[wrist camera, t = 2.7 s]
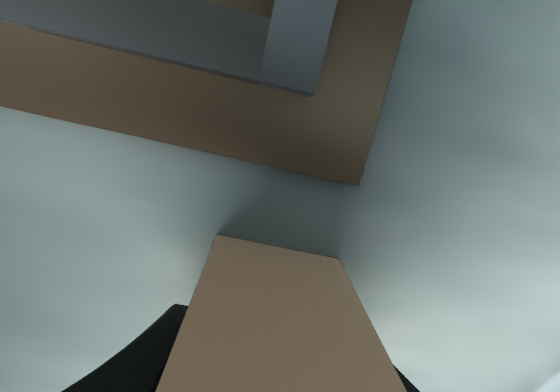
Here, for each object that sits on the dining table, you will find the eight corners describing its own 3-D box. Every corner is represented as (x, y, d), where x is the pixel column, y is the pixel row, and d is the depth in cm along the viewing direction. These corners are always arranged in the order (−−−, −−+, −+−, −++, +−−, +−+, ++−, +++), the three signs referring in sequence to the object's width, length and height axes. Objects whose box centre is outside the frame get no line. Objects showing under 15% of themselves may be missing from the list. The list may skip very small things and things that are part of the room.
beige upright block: (308, 362, 13) (356, 626, 6) (194, 343, 13) (116, 604, 6) (338, 258, 12) (431, 439, 5) (216, 234, 12) (153, 398, 5)
